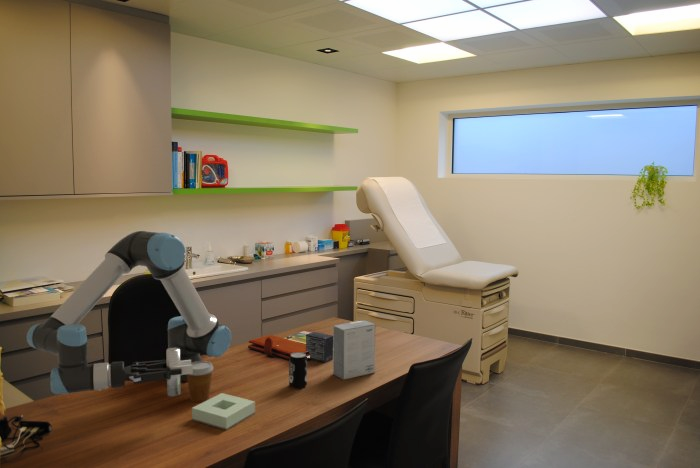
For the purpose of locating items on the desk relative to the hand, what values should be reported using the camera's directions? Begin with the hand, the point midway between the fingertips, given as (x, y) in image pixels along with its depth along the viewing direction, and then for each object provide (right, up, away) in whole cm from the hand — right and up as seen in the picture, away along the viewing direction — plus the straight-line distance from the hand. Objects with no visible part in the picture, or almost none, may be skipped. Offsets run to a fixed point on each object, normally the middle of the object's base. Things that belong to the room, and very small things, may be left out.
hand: (191, 366), depth 172 cm
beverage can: (+30, -15, +33) cm, 47 cm away
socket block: (+9, -18, +6) cm, 20 cm away
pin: (-5, -8, -1) cm, 10 cm away
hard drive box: (+51, -14, +47) cm, 71 cm away
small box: (+36, -12, +64) cm, 74 cm away
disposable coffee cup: (-3, -16, +20) cm, 26 cm away
